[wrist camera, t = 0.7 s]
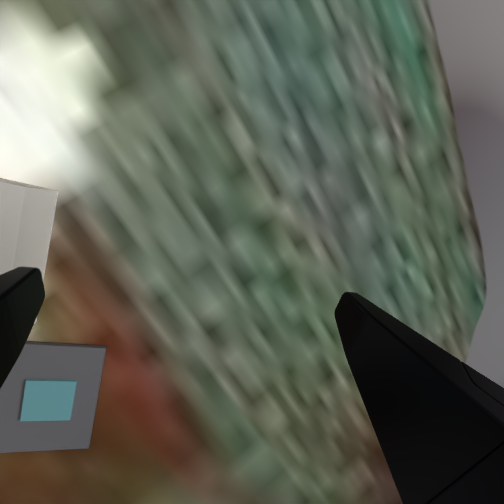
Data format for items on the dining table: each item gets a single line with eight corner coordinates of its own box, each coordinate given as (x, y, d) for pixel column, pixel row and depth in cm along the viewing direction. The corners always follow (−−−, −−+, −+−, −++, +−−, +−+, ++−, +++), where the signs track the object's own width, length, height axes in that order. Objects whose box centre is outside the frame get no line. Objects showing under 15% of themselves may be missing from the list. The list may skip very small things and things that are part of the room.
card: (89, 443, 22) (87, 450, 21) (-7, 448, 20) (-12, 455, 19) (106, 345, 21) (105, 349, 20) (8, 340, 19) (3, 344, 18)
